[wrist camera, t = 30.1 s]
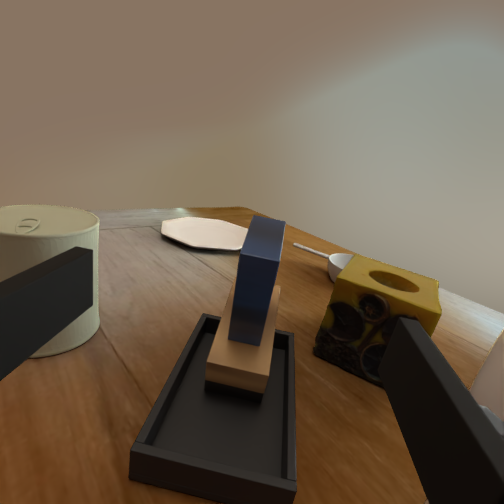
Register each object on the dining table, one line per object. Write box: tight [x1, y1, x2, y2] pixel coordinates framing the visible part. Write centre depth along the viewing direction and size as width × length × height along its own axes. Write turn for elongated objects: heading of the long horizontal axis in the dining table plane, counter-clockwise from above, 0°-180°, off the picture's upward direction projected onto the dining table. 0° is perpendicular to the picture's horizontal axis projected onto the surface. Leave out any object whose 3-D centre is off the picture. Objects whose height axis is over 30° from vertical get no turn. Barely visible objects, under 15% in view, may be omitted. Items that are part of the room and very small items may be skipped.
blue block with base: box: [204, 215, 286, 403], centre depth 27 cm, size 11×5×13 cm, turn 173°
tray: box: [129, 313, 297, 504], centre depth 26 cm, size 16×10×3 cm, turn 173°
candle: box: [313, 254, 442, 387], centre depth 35 cm, size 10×10×10 cm
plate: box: [161, 217, 248, 251], centre depth 66 cm, size 20×20×2 cm
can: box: [0, 205, 100, 358], centre depth 29 cm, size 9×9×12 cm
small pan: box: [293, 243, 353, 282], centre depth 57 cm, size 11×18×4 cm, turn 64°
